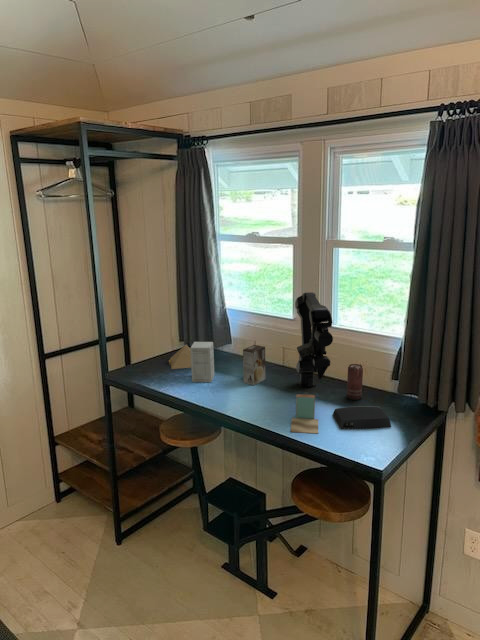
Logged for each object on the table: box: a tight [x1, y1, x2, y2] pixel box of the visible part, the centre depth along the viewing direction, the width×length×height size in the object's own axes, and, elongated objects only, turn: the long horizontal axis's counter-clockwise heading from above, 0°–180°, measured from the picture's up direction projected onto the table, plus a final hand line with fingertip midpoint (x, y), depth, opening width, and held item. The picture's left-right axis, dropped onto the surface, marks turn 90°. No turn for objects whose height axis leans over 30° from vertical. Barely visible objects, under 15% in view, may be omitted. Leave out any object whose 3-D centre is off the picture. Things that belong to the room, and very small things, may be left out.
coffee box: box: [242, 344, 266, 386], centre depth 225 cm, size 9×6×16 cm
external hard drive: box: [332, 405, 392, 430], centre depth 187 cm, size 13×19×4 cm
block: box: [295, 393, 316, 419], centre depth 189 cm, size 2×7×9 cm, turn 82°
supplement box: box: [189, 341, 215, 383], centre depth 229 cm, size 10×9×17 cm
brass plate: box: [290, 417, 319, 434], centre depth 184 cm, size 11×10×1 cm
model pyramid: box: [168, 344, 191, 370], centre depth 252 cm, size 17×17×10 cm
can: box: [346, 363, 364, 401], centre depth 206 cm, size 6×6×14 cm
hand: (317, 374), depth 201 cm, fingers open, 9 cm apart
